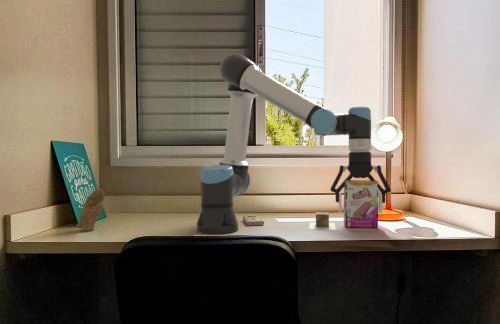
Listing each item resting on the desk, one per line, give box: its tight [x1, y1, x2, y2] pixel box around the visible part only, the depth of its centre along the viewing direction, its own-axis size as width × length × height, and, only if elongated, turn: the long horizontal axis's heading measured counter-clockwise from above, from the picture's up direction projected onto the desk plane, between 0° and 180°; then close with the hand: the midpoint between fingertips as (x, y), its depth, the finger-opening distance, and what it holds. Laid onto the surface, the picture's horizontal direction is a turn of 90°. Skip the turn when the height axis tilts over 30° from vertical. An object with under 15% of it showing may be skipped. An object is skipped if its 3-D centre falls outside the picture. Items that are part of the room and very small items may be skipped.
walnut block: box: [315, 211, 330, 227], centre depth 131 cm, size 4×4×4 cm
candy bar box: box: [343, 179, 379, 229], centre depth 128 cm, size 11×5×16 cm, turn 83°
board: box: [308, 222, 377, 232], centre depth 130 cm, size 24×14×2 cm, turn 79°
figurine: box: [75, 188, 105, 231], centre depth 135 cm, size 8×8×15 cm
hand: (360, 212), depth 129 cm, fingers open, 13 cm apart
